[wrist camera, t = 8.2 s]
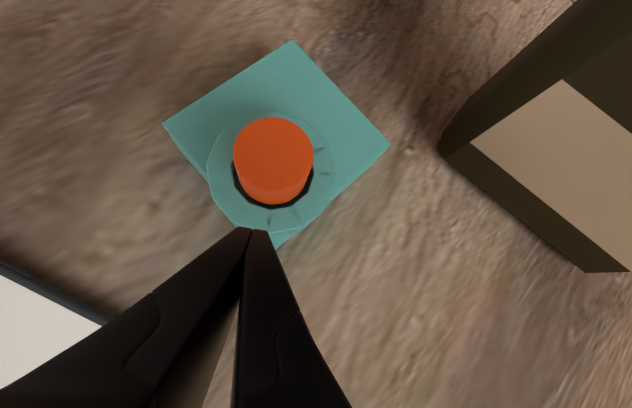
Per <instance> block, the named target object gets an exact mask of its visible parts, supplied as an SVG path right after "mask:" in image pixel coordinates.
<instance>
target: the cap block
mask: <svg viewBox="0 0 632 408" xmlns="http://www.w3.org/2000/svg"><path fill="white" fill-rule="evenodd" d="M266 117H278V118H283V119H286V120H289V121H291V122H293V123H295V124H296V125H298V126H299V127H300V128H301V129H302V130H303V131H304V132H305V133H306V134H307V136H308V138H309V139H310V142H311V144H312V147H313V156H314V158H313V164H312V167H311V170H310V173H309V175H308V178H307V180H306V183H305V185H304V187H303V189H302V191H301V192H300V193H299V194H298V195H297V196H296V197H295V198H294V199H292V200H290V201H289V202H286V203H283V204H278V205H268V204H263V203H260V202H258V201H256V200H254V199H253V198H251V197H250V196H249V195H248V194H247V193H246V192H245V191H244V189H243V188H242V186H241V184H240V181H239V178H238V174H237V171H236V167H235V164H234V160H233V147H234V143H235V140H236V138H237V136H238V135H239V133H240V132H241V131H242V130H243V129H244V128H245V127H246V126H247V125H248V124H250V123H251V122H253V121H256V120H258V119H261V118H266ZM162 125H163V127H164V128H165V130H166V131H167V132H168V134H169V135H170V137H171V138H172V140H173V141H174V143H175V144H176V146H177V147H178V149H179V150H180V152H181V153H182V154H183V155H184V156H185V157H186V158H187V160H188V161H189V162H190V163H191V164H192V165H193V166H194V168H195V169H196V170H197V171H198V172H199V173H200V174H201V176H202V177H203V178H204V179H205V180H206V181H207V183H208V184H209V187H210V194H211V196H212V199H213V200H214V202H215V203H216V204H217V206H218V207H219V208H220V209H221V211H222V212H223V213H224V214H225V215H226V216H227V218H228V219H229V220H230V221H231V222H232V223H233V224H234V226H235V227H238V226H241V227H247V228H251V229H252V230H253V229H260V230H266V231H267V232H268V234H269V236H270V239H271V241H272V243H273V246H274V248H275V250H276V249H278V248H279V247H280V246H281V245H282V244H283V243H284V242H286V241H287V240H288V239H289V238H290V237H291V236H292V235H294V234H296V233H299V232H301V231H302V230H303V229H304V228H305V227H306V226H307V225H309V224H310V223H311V222H312V221H313V220H314V219H315V218H317V217H318V216H319V215H320V214H321V213H322V212H323V210H324V209H325V208H326V207H327V205H328V204H329V203H330V202H331V201H332V200H334V199H335V198H336V197H337V196H338V195H339V194H340V193H342V192H343V191H344V190H345V189H346V188H347V187H348V186H350V185H351V184H352V183H353V182H354V181H355V180H356V179H358V178H359V177H360V176H361V175H362V174H363V173H364V172H366V171H367V170H368V169H369V168H370V167H371V166H372V165H373V164H374V163H375V162H376V161H377V160H378V159H379V157H380V156H381V155H382V154H383V153H384V152H385V151H386V150H387V149H388V148H389V146H390V145H391V143H390V142H389V141H388V140H387V139H386V138H385V137H384V136H383V135H382V133H381V132H380V131H379V130H378V129H377V128H376V127H375V126H374V125H373V124H372V123H371V122H370V121H369V120H368V119H367V118H366V117H365V116H364V114H363V113H362V112H361V111H360V110H359V109H358V108H357V107H356V106H355V105H354V104H353V103H352V102H351V101H350V100H349V99H348V98H347V97H346V95H345V94H344V93H343V92H342V91H341V90H340V89H339V88H338V87H337V86H336V85H335V84H334V83H333V82H332V81H331V80H330V79H329V78H328V76H327V75H326V74H325V73H324V72H323V71H322V70H321V69H320V68H319V67H318V66H317V65H316V64H315V63H314V62H313V61H312V60H311V59H310V57H309V56H308V55H307V54H306V53H305V52H304V51H303V50H302V49H301V48H300V47H299V46H298V45H297V44H296V43H295V42H294V41H293V40H292V39H291V40H290V41H288V42H287V43H285V44H283V45H282V46H280V47H279V48H277V49H276V50H274V51H273V52H271V53H269V54H268V55H266V56H265V57H263V58H262V59H260V60H259V61H257V62H255V63H254V64H252V65H251V66H249V67H248V68H246V69H245V70H243V71H241V72H240V73H238V74H237V75H235V76H234V77H232V78H231V79H229V80H228V81H226V82H224V83H223V84H221V85H220V86H218V87H217V88H215V89H214V90H212V91H210V92H209V93H207V94H206V95H204V96H203V97H201V98H200V99H198V100H196V101H195V102H193V103H192V104H190V105H189V106H187V107H186V108H184V109H182V110H181V111H179V112H178V113H176V114H175V115H173V116H172V117H170V118H168V119H167V120H165V121H164V122H162Z"/></svg>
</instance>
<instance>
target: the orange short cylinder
mask: <svg viewBox="0 0 632 408" xmlns="http://www.w3.org/2000/svg"><path fill="white" fill-rule="evenodd" d="M313 158H314V156H313V147H312V144H311V142H310V139H309V138H308V136H307V134H306V133H305V132H304V131H303V130H302V129H301V128H300V127H299V126H298V125H296V124H295V123H293V122H291V121H289V120H286V119H283V118H278V117H266V118H261V119H258V120H256V121H253V122H251V123H250V124H248V125H247V126H246V127H245V128H244V129H243V130H242V131H241V132H240V133H239V135H238V136H237V138H236V140H235V143H234V147H233V160H234V164H235V167H236V171H237V174H238V178H239V181H240V184H241V186H242V188H243V189H244V191H245V192H246V193H247V194H248V195H249V196H250V197H251V198H253V199H254V200H256V201H258V202H260V203H263V204H268V205H278V204H283V203H286V202H289V201H290V200H292V199H294V198H295V197H296V196H297V195H298V194H299V193H300V192H301V191H302V189H303V187H304V185H305V183H306V180H307V178H308V175H309V173H310V170H311V167H312V164H313Z"/></svg>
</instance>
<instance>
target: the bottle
mask: <svg viewBox="0 0 632 408" xmlns="http://www.w3.org/2000/svg"><path fill="white" fill-rule="evenodd" d="M438 151H439V153H440V154H441V155H442V156H443V158H444V159H445V160H446V161H448V162H449V163H450V164H451V165H453V166H454V167H455V168H456V169H457V170H459V171H460V172H461V173H462V174H464V175H465V176H466V177H467V178H469V179H470V180H471V181H472V182H474V183H475V184H476V185H477V186H478V187H480V188H481V189H482V190H483V191H485V192H486V193H487V194H488V195H490V196H491V197H492V198H493V199H495V200H496V201H497V202H498V203H499V204H501V205H502V206H503V207H504V208H506V209H507V210H508V211H509V212H511V213H512V214H513V215H514V216H516V217H517V218H518V219H519V220H521V221H522V222H523V223H524V224H525V225H527V226H528V227H529V228H530V229H532V230H533V231H534V232H535V233H537V234H538V235H539V236H540V237H542V238H543V239H544V240H545V241H546V242H548V243H549V244H550V245H551V246H553V247H554V248H555V249H556V250H558V251H559V252H560V253H561V254H563V255H564V256H565V257H566V258H567V259H569V260H570V261H571V262H572V263H574V264H575V265H576V266H577V267H579V268H580V269H581V270H582V271H584V272H585V273H600V272H632V0H577V1H576V2H575V3H574V4H573V5H571V6H570V7H569V8H568V9H567V10H566V11H565V12H564V13H563V14H561V15H560V16H559V17H558V18H557V19H556V20H555V21H554V22H553V23H552V24H550V25H549V26H548V27H547V28H546V29H545V30H544V31H543V32H542V33H540V34H539V35H538V36H537V37H536V38H535V39H534V40H533V41H532V42H530V43H529V44H528V45H527V46H526V47H525V48H524V49H523V50H522V51H520V52H519V53H518V54H517V55H516V56H515V57H514V58H513V59H512V60H511V61H509V62H508V63H507V64H506V65H505V66H504V67H503V68H502V69H501V70H499V71H498V72H497V73H496V74H495V75H494V76H493V77H492V78H491V79H489V80H488V81H487V82H486V83H485V84H484V85H483V86H482V87H481V88H480V89H478V90H477V91H476V92H475V93H474V94H473V95H472V96H471V97H470V98H469V99H468V100H467V101H466V103H465V104H464V105H463V107H462V108H461V109H460V110H459V112H458V113H457V114H456V116H455V117H454V118H453V120H452V121H451V122H450V124H449V125H448V126H447V128H446V129H445V130H444V133H443V136H442V138H441V141H440V144H439V147H438Z"/></svg>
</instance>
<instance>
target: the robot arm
mask: <svg viewBox="0 0 632 408" xmlns="http://www.w3.org/2000/svg"><path fill="white" fill-rule="evenodd" d="M239 300H240V301H239ZM238 304H239V310H238V320H237V332H236V344H235V355H234V367H233V379H232V390H231V402H230V408H352V407H351V405H350V403H349V401H348V400H347V398H346V396H345V395H344V393H343V391H342V389H341V388H340V386H339V384H338V383H337V381H336V379H335V377H334V376H333V374H332V372H331V371H330V369H329V367H328V365H327V364H326V362H325V360H324V359H323V357H322V355H321V353H320V351H319V349H318V348H317V346H316V344H315V342H314V340H313V338H312V336H311V334H310V331H309V329H308V327H307V325H306V323H305V320H304V318H303V315H302V313H301V312H300V308H299V306H298V304H297V301H296V299H295V296H294V294H293V292H292V289H291V287H290V284H289V282H288V280H287V277H286V275H285V272H284V270H283V267H282V265H281V263H280V260H279V258H278V255H277V253H276V251H275V248H274V246H273V243H272V241H271V239H270V236H269V234H268V232H267V231H266V230H260V229H253V230H252V229H251V228H247V227H241V226H238V227H236V228H235V229H234V230H232V231H231V232H230V233H228V234H227V235H226V236H225V237H223V238H222V239H221V240H219V241H218V242H217V243H215V244H214V245H213V246H211V247H210V248H209V249H207V250H206V251H205V252H203V253H202V254H201V255H199V256H198V257H197V258H195V259H194V260H193V261H191V262H190V263H189V264H188V265H186V266H185V267H184V268H182V269H181V270H180V271H178V272H177V273H176V274H174V275H173V276H172V277H170V278H169V279H168V280H166V281H165V282H164V283H162V284H161V285H160V286H158V287H157V288H156V289H154V290H153V291H152V293H149V294H148V295H146V296H145V297H144V298H142V299H141V300H140V301H138V302H137V303H136V304H134V305H133V306H131V307H130V308H129V309H127V310H126V311H125V312H123V313H122V314H120V315H119V316H118V317H116V318H115V319H113V320H111V321H110V322H108V323H107V324H105V325H104V326H102V327H101V328H99V329H98V330H96V331H95V332H93V333H92V334H90V335H88V336H87V337H85V338H84V339H82V340H80V341H79V342H77V343H76V344H74V345H72V346H71V347H69V348H68V349H66V350H64V351H63V352H61V353H60V354H58V355H56V356H55V357H53V358H51V359H50V360H48V361H47V362H45V363H43V364H42V365H40V366H39V367H37V368H35V369H34V370H32V371H31V372H29V373H27V374H26V375H24V376H23V377H21V378H19V379H18V380H16V381H14V382H12V383H11V384H9V385H7V386H5V387H3V388H1V389H0V408H202V405H203V402H204V399H205V396H206V394H207V391H208V388H209V385H210V383H211V380H212V377H213V374H214V371H215V369H216V366H217V363H218V360H219V358H220V355H221V352H222V349H223V346H224V344H225V341H226V338H227V335H228V333H229V330H230V327H231V324H232V321H233V319H234V316H235V313H236V310H237V307H238Z"/></svg>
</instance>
